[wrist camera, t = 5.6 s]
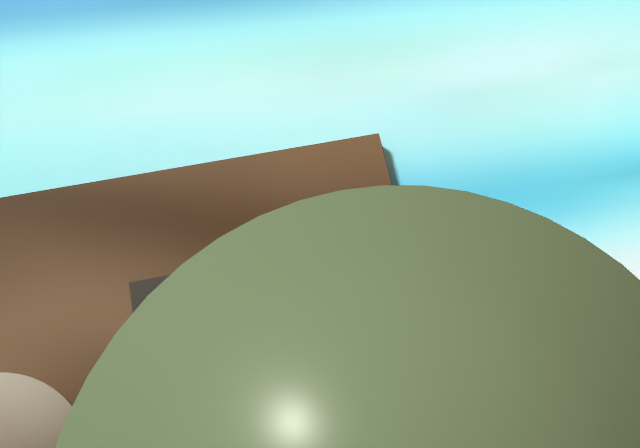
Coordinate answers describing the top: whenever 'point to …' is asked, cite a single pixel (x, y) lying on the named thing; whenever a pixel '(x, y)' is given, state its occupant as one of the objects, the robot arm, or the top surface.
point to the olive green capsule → (377, 335)
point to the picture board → (128, 260)
